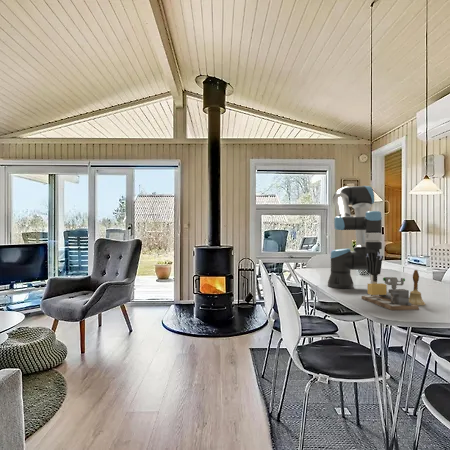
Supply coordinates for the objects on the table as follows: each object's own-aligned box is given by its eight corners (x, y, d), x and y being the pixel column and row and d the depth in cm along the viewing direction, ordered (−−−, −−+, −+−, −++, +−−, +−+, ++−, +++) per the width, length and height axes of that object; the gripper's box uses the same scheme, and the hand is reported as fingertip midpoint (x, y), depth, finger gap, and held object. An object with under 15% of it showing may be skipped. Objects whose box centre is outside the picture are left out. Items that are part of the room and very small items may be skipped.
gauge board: (361, 298, 167) (361, 283, 167) (385, 298, 168) (385, 282, 168) (391, 310, 143) (391, 291, 143) (418, 309, 144) (418, 291, 145)
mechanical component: (405, 297, 170) (405, 278, 170) (384, 296, 172) (384, 277, 172) (403, 296, 173) (403, 277, 173) (382, 295, 175) (382, 276, 175)
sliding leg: (367, 295, 165) (367, 283, 165) (382, 294, 166) (382, 283, 166) (371, 296, 161) (371, 284, 161) (386, 296, 162) (386, 284, 162)
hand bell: (419, 301, 160) (419, 269, 160) (429, 305, 152) (429, 271, 152) (402, 301, 160) (402, 269, 161) (411, 305, 152) (411, 271, 152)
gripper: (359, 241, 173) (360, 285, 173) (374, 241, 160) (374, 290, 160) (373, 241, 174) (373, 285, 174) (388, 241, 161) (388, 289, 161)
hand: (373, 287), depth 167 cm, fingers closed
